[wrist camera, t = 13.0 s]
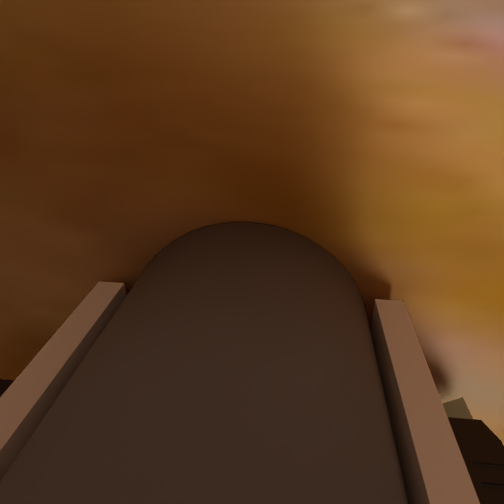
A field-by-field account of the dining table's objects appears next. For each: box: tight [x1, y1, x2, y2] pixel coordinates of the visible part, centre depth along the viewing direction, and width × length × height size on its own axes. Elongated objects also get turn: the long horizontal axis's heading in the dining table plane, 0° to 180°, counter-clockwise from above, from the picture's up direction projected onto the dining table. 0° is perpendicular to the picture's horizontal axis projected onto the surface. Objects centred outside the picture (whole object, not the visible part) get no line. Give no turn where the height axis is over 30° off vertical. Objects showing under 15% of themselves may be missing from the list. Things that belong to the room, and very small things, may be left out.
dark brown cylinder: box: [0, 222, 409, 504], centre depth 9 cm, size 7×7×8 cm
